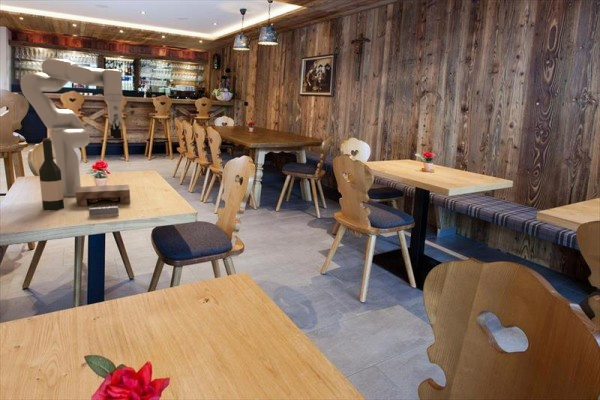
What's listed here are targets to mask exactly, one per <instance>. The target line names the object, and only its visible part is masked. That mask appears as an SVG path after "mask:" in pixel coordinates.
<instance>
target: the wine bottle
mask: <svg viewBox="0 0 600 400" xmlns="http://www.w3.org/2000/svg"><path fill="white" fill-rule="evenodd" d="M42 149H43V162H42V164H41V166H40V168H39V169H38V175H39V183H40V193H41V203H42V209H44V210H43V211H46V210H54V211H60V210H63V209H65V203H64V197H63V191H62V180H61V170H60V169H59V167H58V166H57V163H56V161H54V153H53V143H52V139H51V138H48V137H45V138H44V137H43V140H42ZM59 209H60V210H59Z"/></svg>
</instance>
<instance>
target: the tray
mask: <svg viewBox="0 0 600 400" xmlns="http://www.w3.org/2000/svg"><path fill="white" fill-rule="evenodd" d="M119 213H120V211H119V206H118V203H111V204H98V205H97V204H96V205H95V204H94V205H93V204H92V205H90V206H89V208H88V214H89V218H90V217H92V218H105V217H117V216H118V217H119Z"/></svg>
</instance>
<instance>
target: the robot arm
mask: <svg viewBox="0 0 600 400" xmlns="http://www.w3.org/2000/svg"><path fill="white" fill-rule="evenodd" d="M41 69H42V70H41V71H42V72H28V73H25V74H23V75H22V77H21V78H20V90H21V92H22V94H23V95H24V98H25V99H26V101H28V103H29V104H30V105H31V106H32V108H33V109H34V110H35V112H36V114H37V115H38V117H39V118H40V120H41V122H43V124H44V127H46V128H47V130H51V131H54V132H53V133H52V134H51V141H52V148H53V151H54V154H55V163H56V165H57V166H58V167H59V169H60V170H61V180H62V191H63V198H70V197H76V189H77V187H82V186H81V174H80V160H79V156H78V153H77V152H76V150H75V149H78V148H79V149H80V148H85V147H87V146H88V145H89V144H90V142H91V141H90V140H91V138H90V134H89V132H88V130H87V128H86V127H85V125H84V124H83V122H82V121H81V119H80V118H79V116H78V115H77V113H75V112H74V111H72V110H70V109H68V108H66V109H64V108H63V109H60V108H58V107H57V106H56V105H55V103H54V102H53V101H52V99H51V97H49V96H48V95H46V94H45V93H43V92H47V93H48V92H51V93H52V92H58V91H60V90H62V88H63V87H65V85H67V84H68V83H69V82H70V83H73V84H78V85H80V86H81V85H82V86H88V87H103V97H104V98H103V99H104V102H107V116H108V122H109V124H110V127H109V129H110V131H109V133H110V137H113V139H122V128H121V125H123V124H124V123H123V122H124V121H123V120H124V119H123V112H122V111H123V109H122V103H123V102H124V99H123V85H122V84H123V83H122V82H123V81H122V72H121V71H120V70H118V69H110V68H107V69H106V68H105V69H104V68H96V67H95V68H94V67H85V66H84V67H83V66H79V65H78V63H76V62H73V61H71V60H69V59H63V58H53V57H52V58H47V59H45V60H43V61H42V63H41Z"/></svg>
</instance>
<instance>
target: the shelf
mask: <svg viewBox="0 0 600 400" xmlns="http://www.w3.org/2000/svg"><path fill="white" fill-rule="evenodd" d="M119 200H120V205H130V204H131V193H130V186H129V184H113V185H91V186H90V185H89V186H81V187H77V189H76V196H75V203H76V207H77V208H80V207H88V202H89V203H97V202H98V201H111V202H118V201H119Z"/></svg>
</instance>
